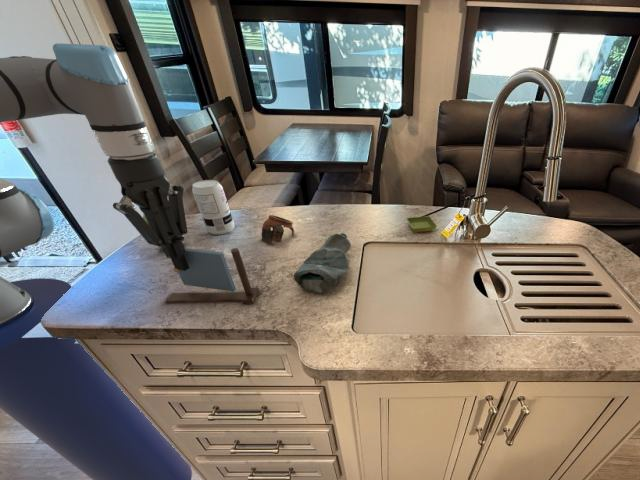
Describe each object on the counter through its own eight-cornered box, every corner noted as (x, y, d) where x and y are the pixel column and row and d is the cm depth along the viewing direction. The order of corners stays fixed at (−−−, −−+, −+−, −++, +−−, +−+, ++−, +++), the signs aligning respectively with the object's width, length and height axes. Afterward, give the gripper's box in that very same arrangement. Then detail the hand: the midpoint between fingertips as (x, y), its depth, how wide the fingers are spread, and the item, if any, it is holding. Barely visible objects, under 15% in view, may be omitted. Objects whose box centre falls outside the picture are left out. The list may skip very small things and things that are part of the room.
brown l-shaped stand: (164, 305, 74) (136, 256, 66) (174, 292, 78) (150, 245, 70) (253, 303, 75) (237, 255, 67) (259, 291, 79) (245, 244, 71)
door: (181, 287, 76) (163, 250, 70) (187, 282, 78) (169, 246, 71) (231, 294, 74) (217, 256, 68) (236, 289, 76) (222, 252, 70)
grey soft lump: (337, 299, 77) (367, 248, 96) (332, 275, 72) (364, 226, 91) (288, 295, 79) (326, 246, 98) (279, 271, 75) (322, 224, 94)
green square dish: (437, 232, 107) (437, 226, 106) (412, 234, 105) (412, 228, 104) (429, 221, 114) (429, 215, 113) (405, 223, 112) (405, 217, 111)
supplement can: (203, 230, 104) (185, 183, 95) (227, 222, 109) (213, 177, 100) (215, 238, 100) (197, 190, 91) (240, 229, 105) (225, 183, 96)
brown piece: (258, 237, 102) (264, 212, 100) (288, 245, 107) (294, 221, 105) (260, 244, 92) (267, 216, 90) (293, 252, 97) (301, 226, 95)
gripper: (110, 166, 51) (169, 287, 65) (179, 149, 61) (218, 258, 75) (77, 160, 53) (142, 279, 67) (150, 145, 62) (193, 252, 77)
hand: (182, 268), depth 71 cm, fingers closed
